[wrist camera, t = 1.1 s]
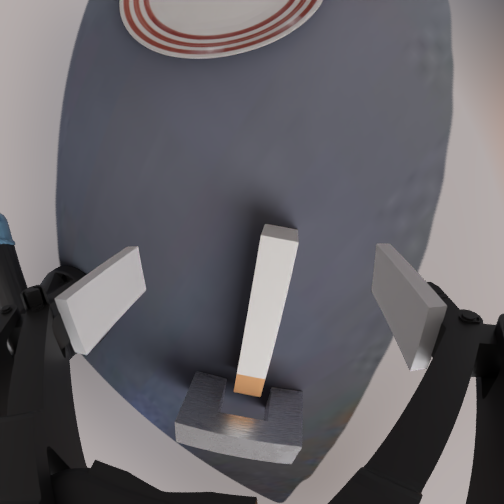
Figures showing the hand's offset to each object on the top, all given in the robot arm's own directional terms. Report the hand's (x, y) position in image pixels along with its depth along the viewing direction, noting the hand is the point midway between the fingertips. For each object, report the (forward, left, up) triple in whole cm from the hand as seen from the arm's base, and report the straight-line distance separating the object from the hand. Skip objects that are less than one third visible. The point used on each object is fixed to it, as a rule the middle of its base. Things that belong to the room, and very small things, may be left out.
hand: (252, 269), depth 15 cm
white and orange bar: (-9, -12, -20) cm, 25 cm away
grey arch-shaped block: (-21, -25, -20) cm, 38 cm away
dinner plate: (+12, +29, -21) cm, 38 cm away
